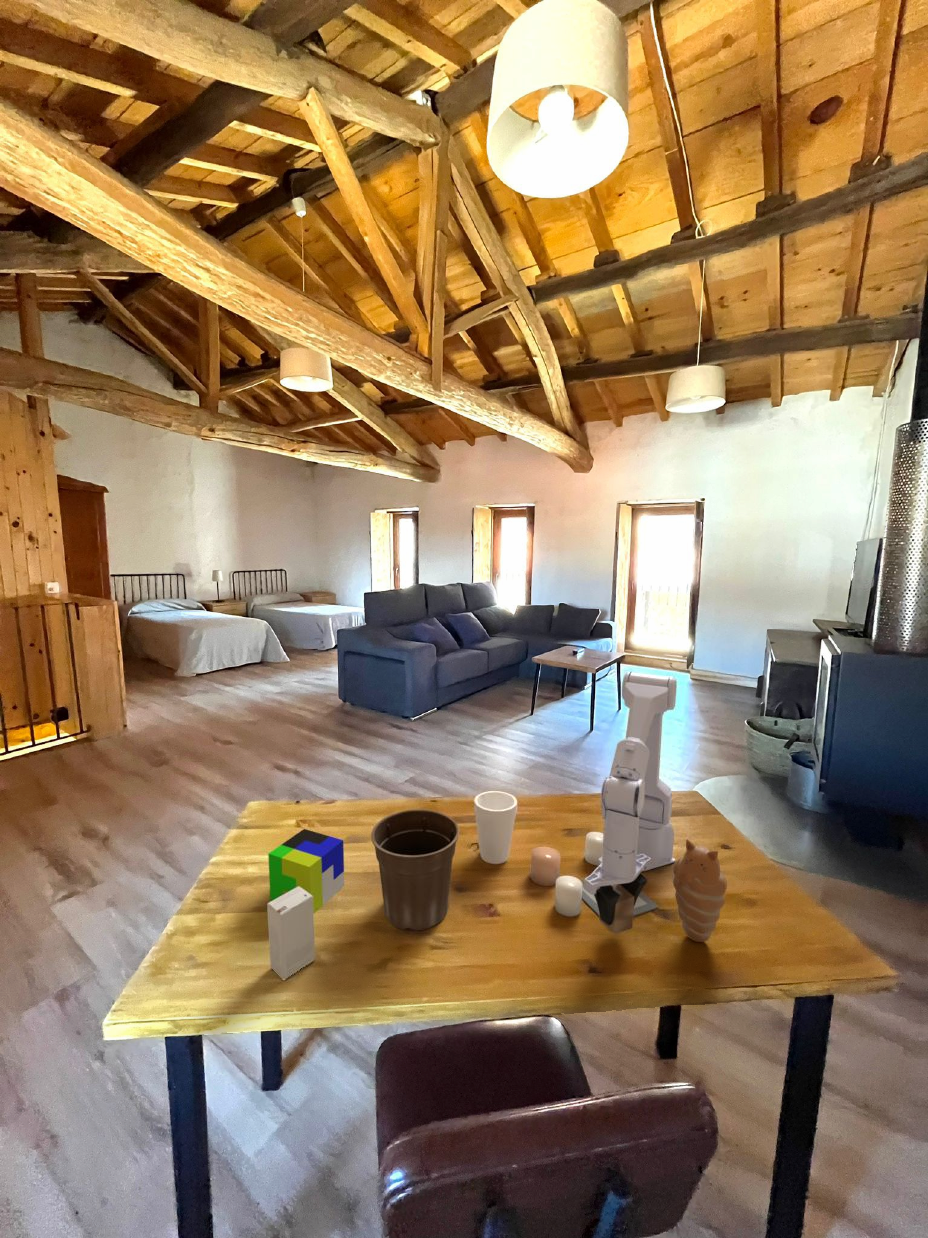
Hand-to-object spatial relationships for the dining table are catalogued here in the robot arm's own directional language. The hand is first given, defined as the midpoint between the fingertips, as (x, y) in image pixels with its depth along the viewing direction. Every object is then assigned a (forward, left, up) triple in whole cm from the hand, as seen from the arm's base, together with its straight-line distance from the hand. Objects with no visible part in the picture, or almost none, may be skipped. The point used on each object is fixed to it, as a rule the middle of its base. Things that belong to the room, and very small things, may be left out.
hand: (616, 916), depth 95 cm
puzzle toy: (+48, -34, -4) cm, 59 cm away
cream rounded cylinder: (-12, -21, -4) cm, 25 cm away
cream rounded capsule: (+3, -10, -4) cm, 11 cm away
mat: (-7, -9, -4) cm, 12 cm away
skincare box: (+53, -16, -4) cm, 56 cm away
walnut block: (0, 0, -1) cm, 1 cm away
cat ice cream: (-13, +6, -4) cm, 15 cm away
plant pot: (+30, -21, -4) cm, 37 cm away
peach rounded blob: (+2, -20, -4) cm, 21 cm away
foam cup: (+8, -31, -4) cm, 32 cm away
